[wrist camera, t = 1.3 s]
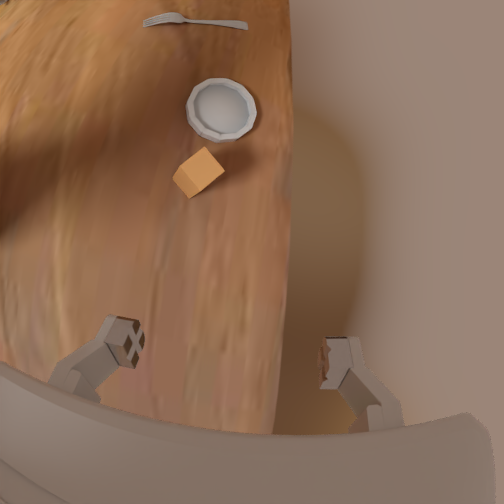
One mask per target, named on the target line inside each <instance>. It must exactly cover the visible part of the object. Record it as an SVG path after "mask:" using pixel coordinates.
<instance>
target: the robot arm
mask: <svg viewBox="0 0 504 504" xmlns="http://www.w3.org/2000/svg"><path fill="white" fill-rule="evenodd" d="M140 325H141V324H140V322H139V320H136V319H131V318H126V317H121V316H116V315H111V314H109V315H108V316H107V317H106V319H105V320H104V322H103V324H102V326H101V328H100V330H99V332H98V334H97V335H96V337H95V339H94V340H90V341H89V342H87V343H86V344H84V345H83V346H82V347H80V348H79V349H77V350H76V351H74V352H73V353H71V354H70V355H68V356H67V357H65V358H64V359H62V360H61V361H59V362H58V363H57V365H56V367H55V369H54V371H53V373H52V375H51V377H50V379H49V381H48V383H45V382H43V381H41V380H39V379H37V378H35V377H32V376H30V375H28V374H26V373H24V372H22V371H20V370H18V369H16V368H14V367H13V366H11V365H9V364H7V363H5V362H3V361H0V504H495V498H496V495H495V493H496V483H495V481H496V480H495V464H494V456H493V449H492V443H491V438H490V434H489V432H488V429H487V428H486V427H485V426H484V425H483V424H482V423H481V422H480V421H479V420H478V419H477V418H476V417H474V416H473V415H472V414H471V413H467V412H466V413H461V414H457V415H454V416H450V417H446V418H442V419H438V420H434V421H429V422H425V423H420V424H415V425H410V426H405V425H404V420H403V414H402V409H401V404H400V401H399V400H398V399H397V398H396V397H395V396H394V395H393V393H391V391H390V390H389V389H388V388H387V387H386V386H385V385H384V384H383V383H382V382H381V381H380V380H379V378H378V377H377V376H376V375H375V374H374V373H373V372H372V371H371V370H370V369H369V368H365V364H364V359H363V354H362V349H361V344H360V339H359V338H358V337H324V338H323V341H322V344H323V346H322V347H321V348H320V350H319V354H318V368H319V369H320V370H321V372H320V374H319V385H320V389H338V391H339V392H340V394H341V395H342V397H343V398H344V399H345V401H346V402H347V404H348V405H349V407H350V408H351V409H352V411H353V412H354V414H355V415H356V416H357V419H356V420H355V421H354V423H353V424H352V425H351V426H350V427H349V433H348V434H332V435H268V434H252V433H240V432H230V431H221V430H214V429H206V428H200V427H194V426H188V425H182V424H177V423H172V422H167V421H162V420H158V419H153V418H149V417H145V416H141V415H137V414H133V413H130V412H126V411H123V410H119V409H116V408H112V407H109V406H106V405H103V404H100V400H101V398H100V396H99V395H98V393H97V392H96V391H95V389H96V388H97V387H98V386H99V385H100V384H101V383H102V382H103V381H104V380H106V379H107V378H108V377H109V376H110V375H111V374H112V373H113V372H114V371H115V370H117V369H118V368H119V366H122V367H127V368H132V369H135V368H136V365H137V363H138V360H139V356H138V353H139V352H140V351H142V349H143V347H144V342H145V336H144V332H143V331H142V330H141V329H140Z"/></svg>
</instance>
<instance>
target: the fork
mask: <svg viewBox="0 0 504 504" xmlns="http://www.w3.org/2000/svg"><path fill="white" fill-rule="evenodd" d="M166 15H168V16H166ZM161 16H163V17H161ZM157 17H159V18H157ZM167 17H169V18H167ZM153 18H155V19H153ZM161 18H163V19H161ZM150 19H152V20H150ZM157 19H159V20H157ZM168 19H170V20H168ZM146 20H149V21H146ZM146 20H144V21H146V22H144V23H146V24H149V25H146V24H143V25H146V26H144V27H147V26H151V25H155V24H160V23H165V22H176V23H182V22H190V23H203V24H214V25H222V26H228V27H233V28H238V29H243V30H248V25H247V23H246V22H243V21H236V20H190V19H186V18H184V17H183V16H182V15H181V14H179V13H175V12H170V13H165V14H161V15H158V16H154V17H151V18H149V19H146ZM153 20H156V21H153ZM162 20H164V21H162ZM150 21H152V22H150ZM157 21H160V22H157ZM147 22H149V23H147ZM153 22H156V23H153ZM150 23H153V24H150Z"/></svg>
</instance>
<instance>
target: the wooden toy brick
mask: <svg viewBox="0 0 504 504" xmlns="http://www.w3.org/2000/svg"><path fill="white" fill-rule="evenodd" d="M224 171H225V170H224V169H223V168H222V167H221V166H220V164H219V163H218V162H217V161H216V160H215V158H214V157H213V156H212V155H211V154H210V152H209V151H208V150H207V149H206V148H205V147H203V148H202V149H201V150H199V151H198V152H197V153H196V154H194V155H193V156H192V157H190V158H189V159H188V160H187V161H185V162H184V163H183V164H182V165H180V166H179V168H178V170H177V171H176V173H175V174H174V176H173V178H172V179H173V180H174V181H175V183H176V184H177V185H178V186H179V187H180V189H181V190H182V191H183V192H184V193H185V194H186V196H187V197H188V198H189V199H190V198H191V197H193V196H194V195H196V194H197V193H199V192H200V191H201V190H203V189H204V188H205V187H206V186H207V185H209V184H210V183H211V182H212V181H213V180H214V179H216V178H217V177H218V176H219V175H221V174H222V173H223V172H224Z"/></svg>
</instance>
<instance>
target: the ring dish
mask: <svg viewBox="0 0 504 504" xmlns="http://www.w3.org/2000/svg"><path fill="white" fill-rule="evenodd" d="M185 107H186V114H187V120H188V123H189V124H190V125H191V126H192V128H193V129H194V130H195V131H196V132H197V134H198V135H199V136H201V137H203V138H206V139H208V140H211V141H213V142H216V143H221V142H231V141H236V140H237V139H238V138H240V137H241V136H242V135H244V134H245V133H247V132H248V131H249V130H250V129H251V128H252V126H253V123H254V121H255V118H256V115H257V111H256V107H255V102H254V98H253V97H252V96H251V95H250V93H249V92H248V91H247V90H246V89H245V88H244V86H242V85H241V84H239V83H236V82H234V81H232V80H230V79H227V78H211V79H207V80H205V81H204V82H202V83H200V84H199V85H197V86H195V87H194V89H193V91H192V93H191V95H190V97H189V99H188V101H187V103H186V106H185Z"/></svg>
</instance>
